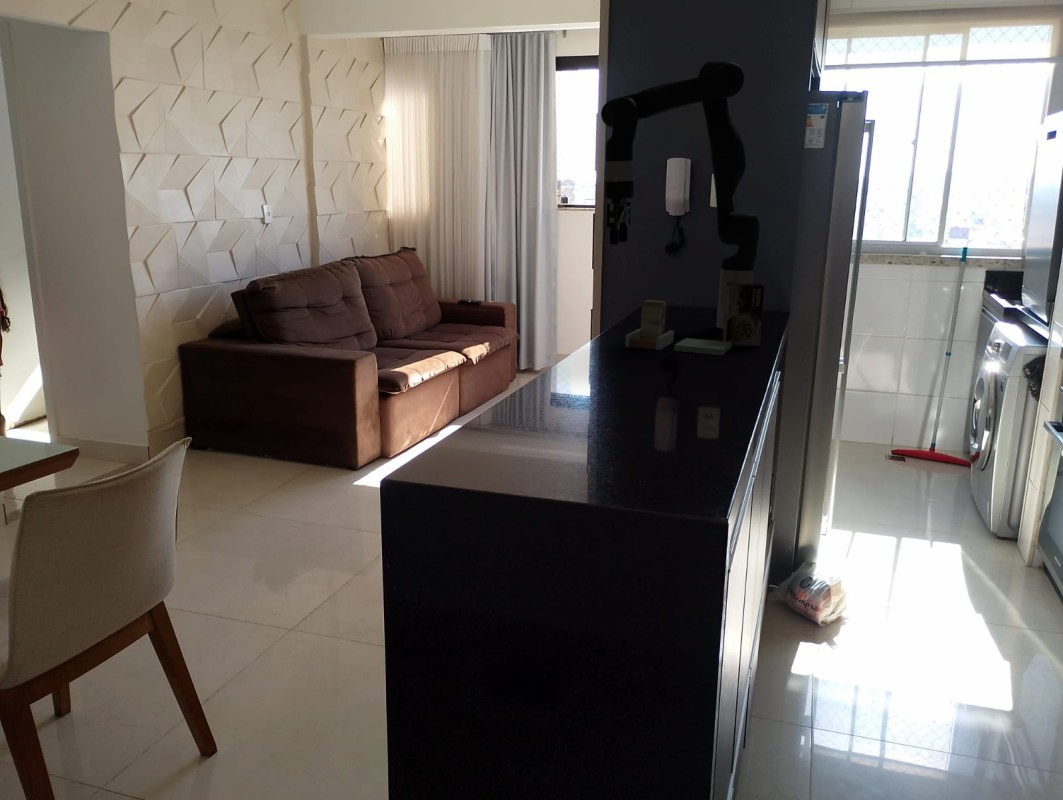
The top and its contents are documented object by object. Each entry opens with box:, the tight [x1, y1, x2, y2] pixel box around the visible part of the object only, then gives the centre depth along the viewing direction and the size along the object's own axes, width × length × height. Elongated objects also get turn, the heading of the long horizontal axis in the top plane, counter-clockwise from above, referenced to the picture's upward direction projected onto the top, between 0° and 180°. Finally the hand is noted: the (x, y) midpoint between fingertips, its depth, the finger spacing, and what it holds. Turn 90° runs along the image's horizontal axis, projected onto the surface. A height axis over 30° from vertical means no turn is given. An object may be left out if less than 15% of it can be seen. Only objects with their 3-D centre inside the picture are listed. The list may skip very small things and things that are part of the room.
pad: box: [673, 337, 733, 356], centre depth 219 cm, size 12×12×2 cm
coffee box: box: [722, 281, 765, 347], centre depth 227 cm, size 9×6×16 cm
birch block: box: [640, 299, 667, 340], centre depth 225 cm, size 5×5×11 cm
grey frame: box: [624, 327, 675, 351], centre depth 224 cm, size 14×9×3 cm, turn 157°
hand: (618, 243), depth 227 cm, fingers open, 8 cm apart
